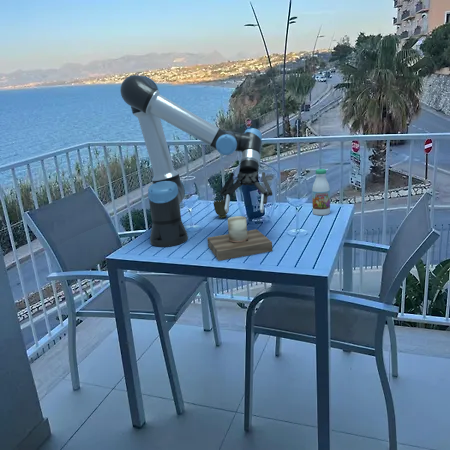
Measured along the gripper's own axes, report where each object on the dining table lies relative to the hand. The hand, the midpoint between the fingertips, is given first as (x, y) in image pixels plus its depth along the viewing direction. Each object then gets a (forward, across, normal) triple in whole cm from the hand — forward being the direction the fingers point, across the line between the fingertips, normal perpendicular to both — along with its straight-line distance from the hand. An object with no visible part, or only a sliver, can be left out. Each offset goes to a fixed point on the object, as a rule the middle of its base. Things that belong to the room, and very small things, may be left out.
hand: (243, 211), depth 153 cm
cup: (-13, +18, -32) cm, 39 cm away
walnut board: (+14, +1, -4) cm, 14 cm away
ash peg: (+13, +1, -4) cm, 14 cm away
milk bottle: (-18, -27, -36) cm, 49 cm away
